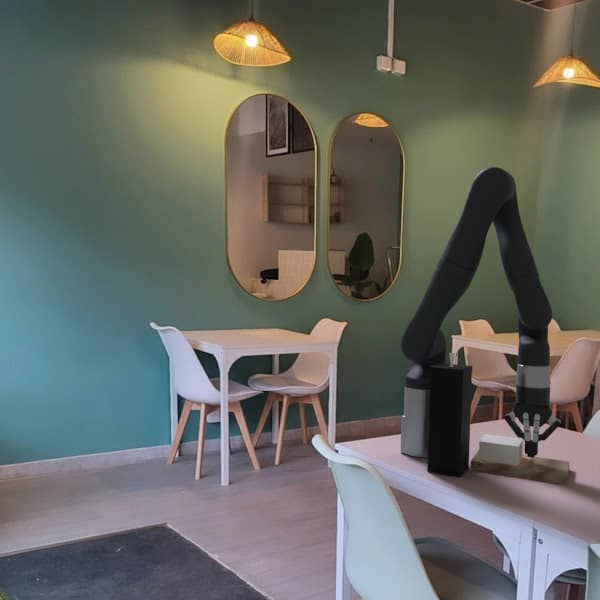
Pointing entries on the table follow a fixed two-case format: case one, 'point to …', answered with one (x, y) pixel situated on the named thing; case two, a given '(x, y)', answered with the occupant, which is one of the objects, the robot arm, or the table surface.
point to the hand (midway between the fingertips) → (531, 456)
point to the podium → (527, 468)
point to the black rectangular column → (449, 418)
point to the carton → (501, 449)
